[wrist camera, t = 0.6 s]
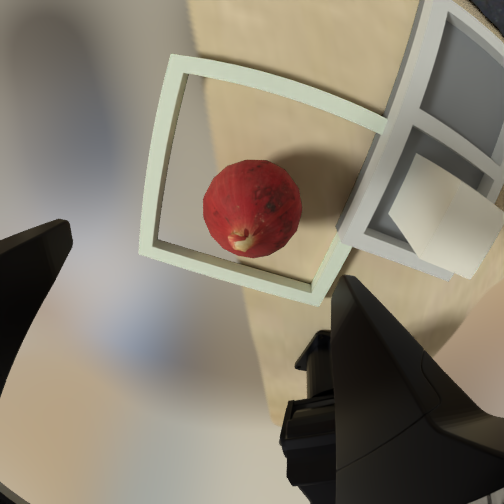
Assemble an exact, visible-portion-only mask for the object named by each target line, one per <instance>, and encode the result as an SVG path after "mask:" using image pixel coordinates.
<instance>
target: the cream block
mask: <svg viewBox="0 0 504 504" xmlns="http://www.w3.org/2000/svg"><path fill="white" fill-rule="evenodd" d="M388 214H389V215H390V217H391V218H392V219H393V221H394V222H395V224H396V225H397V226H398V228H399V229H400V231H401V232H402V234H403V235H404V236H405V238H406V239H407V241H408V242H409V244H410V245H411V247H412V248H413V250H414V251H415V253H416V254H417V256H418V257H419V259H421V260H423V261H426V262H428V263H431V264H433V265H436V266H438V267H441V268H443V269H446V270H448V271H450V272H453V273H455V274H457V275H460V276H462V277H465V278H467V279H469V280H470V279H471V278H472V276H473V275H474V274H475V272H476V271H477V269H478V267H479V266H480V264H481V263H482V261H483V260H484V258H485V256H486V255H487V253H488V252H489V250H490V248H491V246H492V245H493V243H494V241H495V240H496V238H497V236H498V234H499V232H500V231H501V229H502V227H503V225H504V212H503V211H502V210H501V209H500V208H498V207H497V206H496V205H495V204H493V203H492V202H491V201H489V200H488V199H487V198H485V197H484V196H483V195H481V194H480V193H479V192H477V191H476V190H475V189H473V188H472V187H470V186H469V185H468V184H466V183H465V182H463V181H462V180H460V179H459V178H457V177H456V176H454V175H452V174H451V173H449V172H448V171H446V170H444V169H443V168H441V167H440V166H438V165H436V164H435V163H433V162H431V161H429V160H428V159H426V158H424V157H423V156H421V155H419V154H417V153H416V155H415V157H414V160H413V162H412V164H411V166H410V169H409V171H408V173H407V175H406V178H405V180H404V182H403V184H402V186H401V188H400V190H399V193H398V195H397V197H396V199H395V201H394V203H393V205H392V207H391V209H390V211H389V213H388Z"/></svg>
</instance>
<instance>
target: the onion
mask: <svg viewBox="0 0 504 504" xmlns="http://www.w3.org/2000/svg"><path fill="white" fill-rule="evenodd" d="M301 213H302V204H301V198H300V192H299V188H298V187H297V185H296V184H295V182H294V181H293V180H292V178H291V177H290V176H289V174H288V173H287V172H286V170H285V169H283V168H281V167H279V166H277V165H275V164H273V163H271V162H269V161H267V160H244V161H241V162H238V163H235V164H232V165H229V166H227V167H226V168H225V169H223V170H222V171H221V172H220V173H219V174H218V175H217V176H215V177H214V178H213V180H212V182H211V184H210V186H209V188H208V190H207V192H206V194H205V196H204V199H203V216H204V220H205V223H206V225H207V227H208V229H209V232H210V234H211V236H212V237H213V238H214V239H215V240H216V241H217V242H218V243H219V244H220V245H221V246H222V248H224V249H226V250H228V251H229V252H232V253H234V254H236V255H238V256H244V257H250V258H257V257H263V256H268V255H270V254H272V253H274V252H276V251H277V250H279V249H281V248H282V247H284V246H285V245H286V244H287V242H288V241H289V240H290V238H291V237H292V236H293V235H294V233H295V232H296V231H297V228H298V224H299V221H300V217H301Z"/></svg>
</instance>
